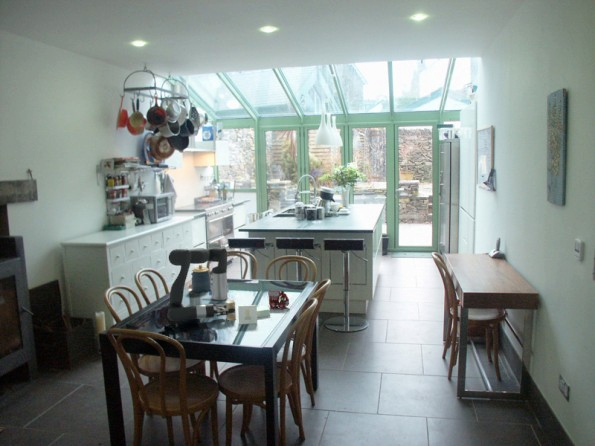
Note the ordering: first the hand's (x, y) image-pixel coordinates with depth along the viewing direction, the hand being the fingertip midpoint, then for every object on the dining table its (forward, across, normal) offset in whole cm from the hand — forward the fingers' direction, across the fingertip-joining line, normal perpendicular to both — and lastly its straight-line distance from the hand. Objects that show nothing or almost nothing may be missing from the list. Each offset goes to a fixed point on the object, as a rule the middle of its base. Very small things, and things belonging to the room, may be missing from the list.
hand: (233, 308), depth 278 cm
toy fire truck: (+29, +12, +6) cm, 32 cm away
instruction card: (+6, -11, +6) cm, 14 cm away
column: (-2, 0, +6) cm, 6 cm away
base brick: (+16, +2, +6) cm, 17 cm away
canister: (-11, +69, +6) cm, 70 cm away
